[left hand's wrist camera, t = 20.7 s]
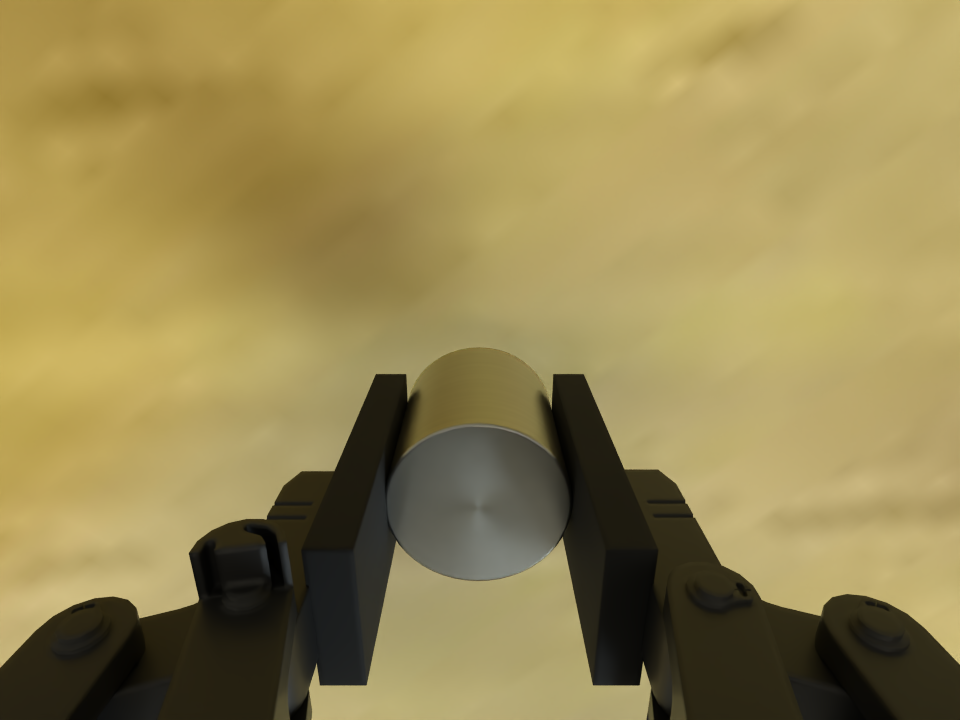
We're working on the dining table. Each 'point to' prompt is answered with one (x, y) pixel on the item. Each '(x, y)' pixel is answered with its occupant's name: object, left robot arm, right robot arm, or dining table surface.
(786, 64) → the dining table surface
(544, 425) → the can
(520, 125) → the dining table surface
